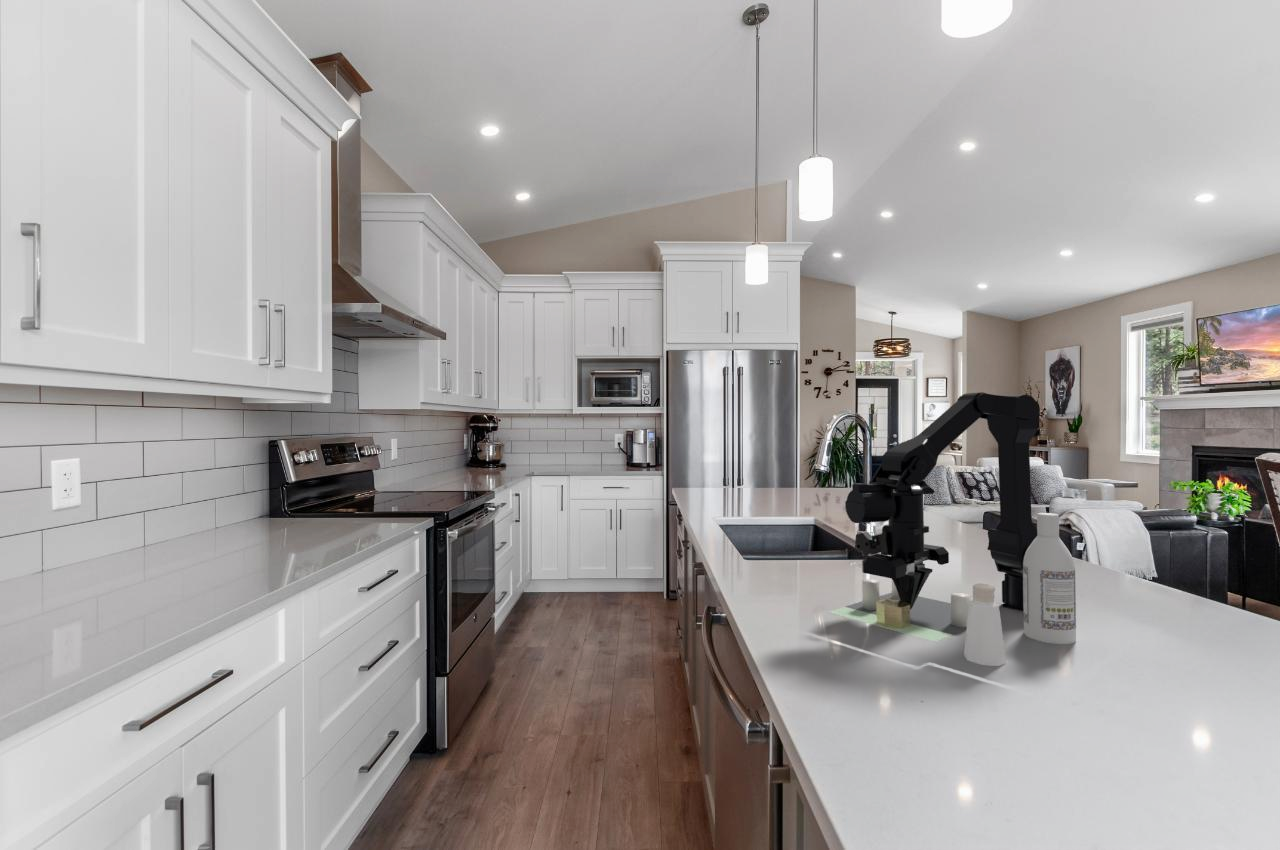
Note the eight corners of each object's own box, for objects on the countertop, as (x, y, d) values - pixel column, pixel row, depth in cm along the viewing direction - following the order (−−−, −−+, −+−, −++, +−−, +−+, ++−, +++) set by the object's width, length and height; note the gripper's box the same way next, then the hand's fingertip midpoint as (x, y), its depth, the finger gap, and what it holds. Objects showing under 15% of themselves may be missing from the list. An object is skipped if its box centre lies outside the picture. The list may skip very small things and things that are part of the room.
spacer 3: (974, 625, 104) (973, 595, 104) (965, 628, 102) (965, 598, 102) (956, 620, 106) (955, 592, 106) (947, 624, 104) (947, 594, 104)
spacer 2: (911, 599, 120) (911, 573, 120) (903, 601, 118) (902, 575, 118) (897, 595, 122) (896, 570, 122) (888, 598, 121) (888, 572, 121)
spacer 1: (882, 608, 114) (882, 581, 114) (873, 611, 112) (873, 583, 112) (868, 604, 116) (868, 578, 116) (859, 607, 115) (858, 580, 115)
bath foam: (1086, 643, 96) (1085, 515, 96) (1055, 649, 94) (1053, 518, 94) (1044, 630, 102) (1042, 510, 103) (1013, 635, 100) (1012, 512, 100)
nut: (914, 623, 105) (914, 603, 105) (897, 630, 102) (897, 609, 102) (889, 617, 108) (889, 597, 108) (872, 623, 105) (872, 603, 105)
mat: (1000, 616, 110) (1000, 614, 110) (935, 644, 96) (935, 641, 96) (895, 593, 126) (895, 591, 126) (827, 614, 112) (827, 611, 112)
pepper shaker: (1015, 667, 86) (1014, 589, 87) (981, 670, 86) (980, 591, 86) (987, 653, 92) (986, 580, 92) (955, 656, 91) (954, 581, 91)
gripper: (892, 510, 120) (893, 590, 120) (834, 520, 109) (836, 608, 109) (949, 516, 111) (951, 603, 111) (893, 528, 100) (894, 624, 100)
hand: (907, 609), depth 108 cm, fingers closed
